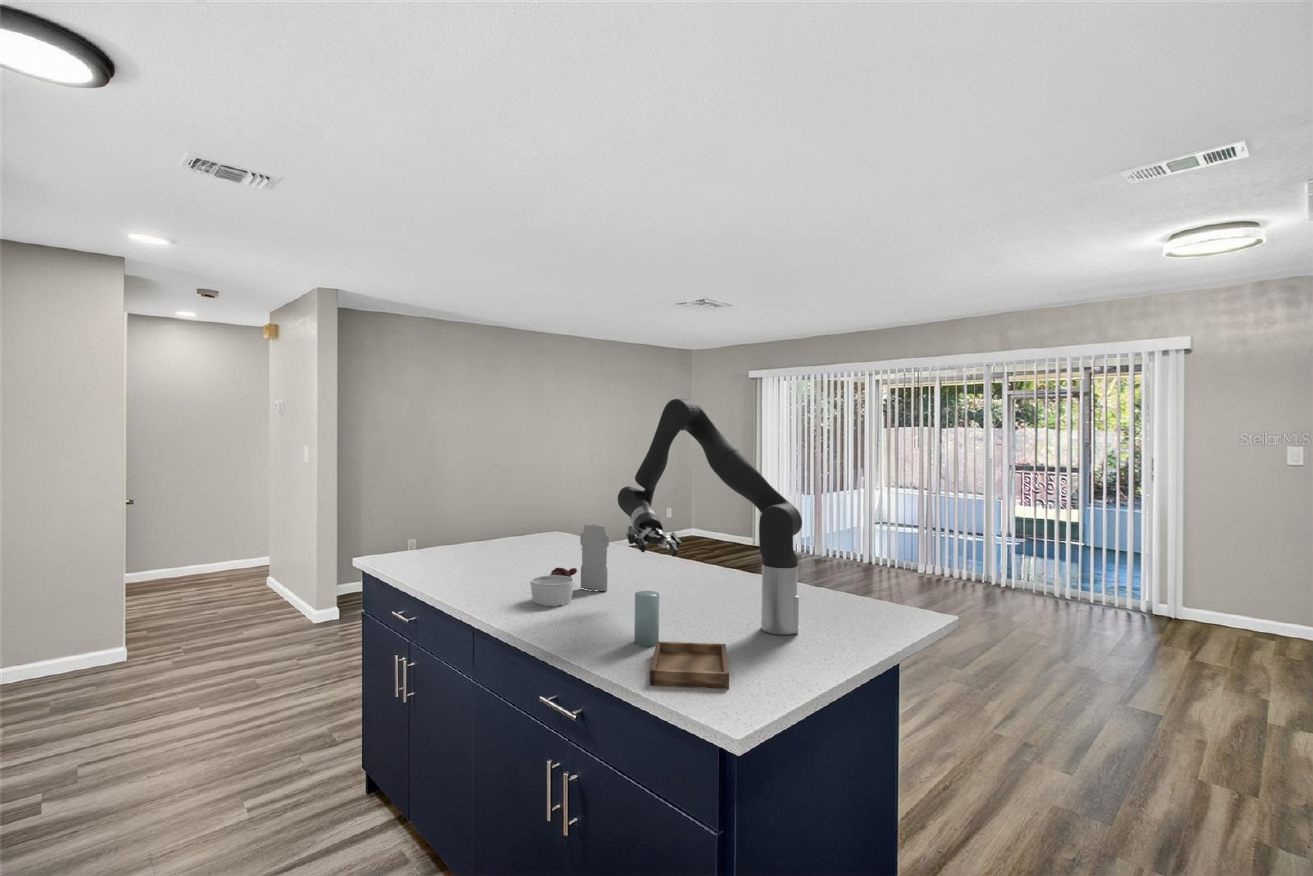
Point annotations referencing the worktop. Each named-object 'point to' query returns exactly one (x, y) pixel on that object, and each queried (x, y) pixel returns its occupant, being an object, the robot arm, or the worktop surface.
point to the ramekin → (552, 590)
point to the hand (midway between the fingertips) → (659, 551)
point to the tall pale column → (594, 557)
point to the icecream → (564, 572)
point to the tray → (690, 665)
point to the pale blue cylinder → (646, 618)
